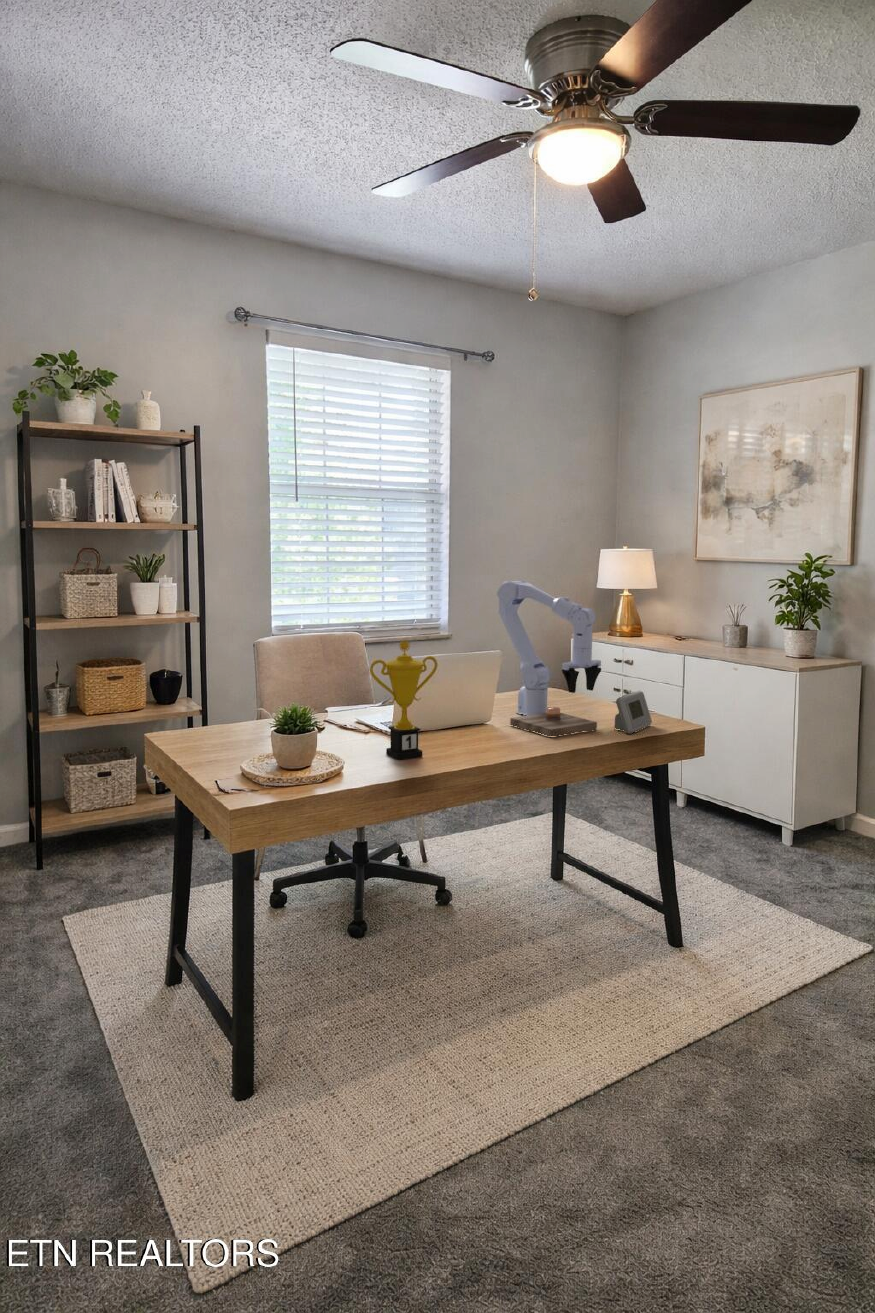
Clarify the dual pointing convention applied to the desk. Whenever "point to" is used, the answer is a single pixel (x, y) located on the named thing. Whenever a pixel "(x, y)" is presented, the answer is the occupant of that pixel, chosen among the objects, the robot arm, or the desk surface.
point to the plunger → (553, 712)
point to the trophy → (404, 700)
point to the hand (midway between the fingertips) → (581, 691)
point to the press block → (553, 724)
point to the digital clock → (632, 712)
